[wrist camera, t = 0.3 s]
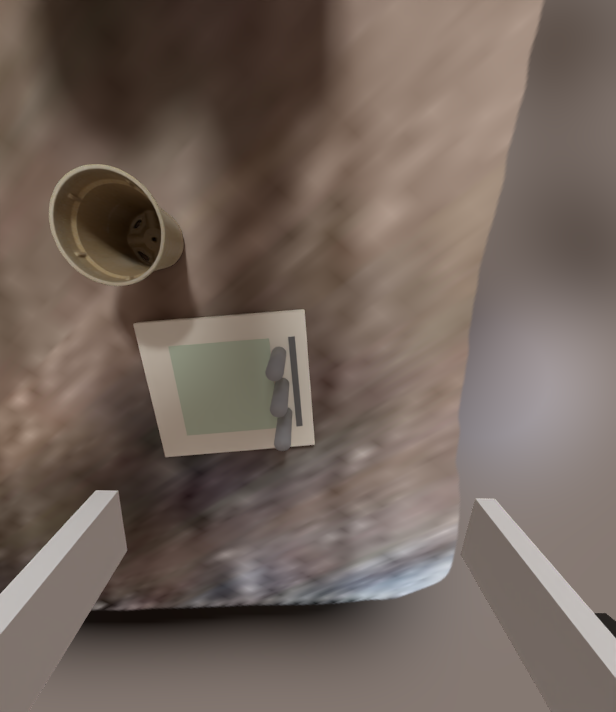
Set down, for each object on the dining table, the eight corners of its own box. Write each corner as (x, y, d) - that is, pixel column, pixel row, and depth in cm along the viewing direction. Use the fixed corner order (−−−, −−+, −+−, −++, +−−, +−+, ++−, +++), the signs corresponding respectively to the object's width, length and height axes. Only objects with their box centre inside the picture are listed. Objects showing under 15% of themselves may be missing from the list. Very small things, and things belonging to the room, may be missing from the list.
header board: (138, 322, 35) (92, 336, 27) (304, 309, 35) (306, 319, 27) (169, 451, 40) (137, 495, 32) (314, 439, 40) (318, 480, 32)
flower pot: (106, 267, 33) (42, 265, 25) (119, 179, 31) (53, 145, 23) (188, 293, 34) (153, 300, 26) (206, 210, 32) (174, 188, 24)
